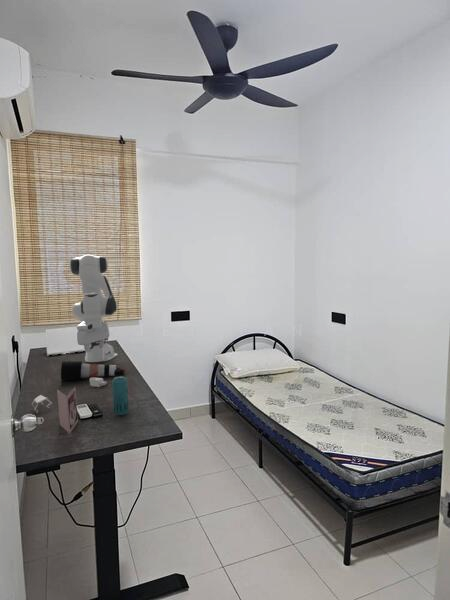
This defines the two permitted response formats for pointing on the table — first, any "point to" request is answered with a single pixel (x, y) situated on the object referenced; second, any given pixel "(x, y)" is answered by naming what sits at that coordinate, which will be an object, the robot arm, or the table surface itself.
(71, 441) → the table surface
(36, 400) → the origami figure
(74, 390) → the greeting card
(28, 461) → the table surface
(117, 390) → the beverage bottle
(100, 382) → the usb plug
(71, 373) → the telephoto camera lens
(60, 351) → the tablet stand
